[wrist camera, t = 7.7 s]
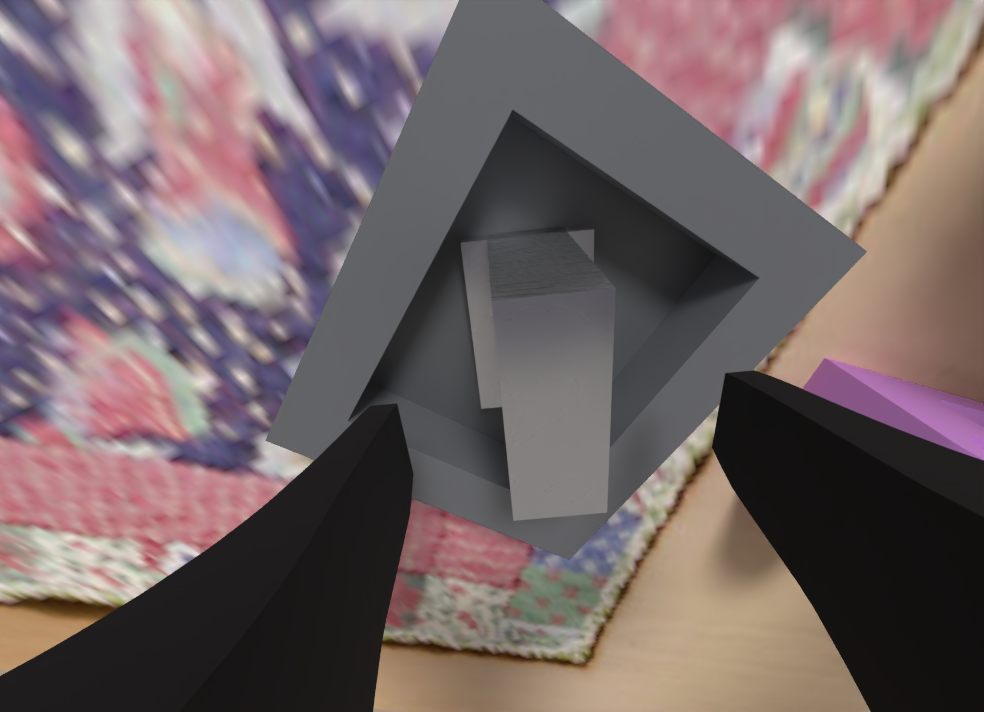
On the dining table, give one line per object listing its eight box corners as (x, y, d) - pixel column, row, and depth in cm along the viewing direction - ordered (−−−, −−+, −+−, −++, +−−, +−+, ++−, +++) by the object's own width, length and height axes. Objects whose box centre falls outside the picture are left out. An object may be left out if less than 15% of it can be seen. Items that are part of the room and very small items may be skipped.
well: (795, 229, 14) (866, 251, 12) (557, 502, 20) (569, 559, 17) (480, -7, 11) (480, -48, 9) (299, 391, 17) (265, 440, 14)
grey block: (588, 223, 14) (657, 284, 8) (587, 386, 17) (638, 509, 11) (461, 236, 14) (450, 304, 8) (481, 396, 17) (482, 523, 11)
